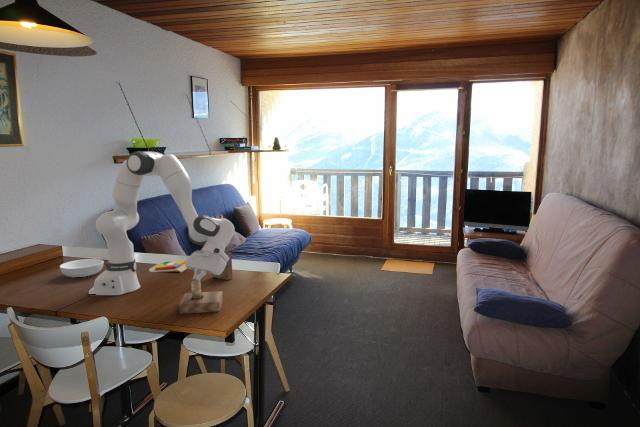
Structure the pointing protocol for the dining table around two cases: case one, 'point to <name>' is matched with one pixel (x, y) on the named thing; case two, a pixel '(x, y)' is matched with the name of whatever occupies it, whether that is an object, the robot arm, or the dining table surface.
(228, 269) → the wooden block
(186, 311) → the board
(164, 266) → the wooden puzzle
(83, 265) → the serving bowl
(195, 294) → the peg
